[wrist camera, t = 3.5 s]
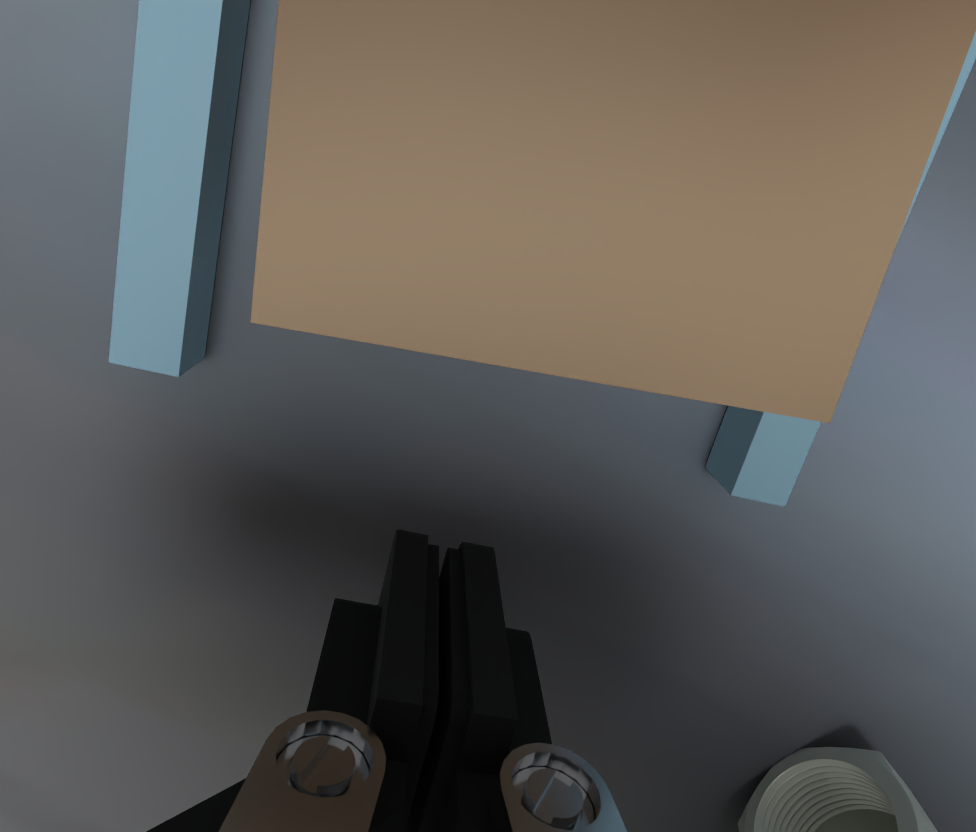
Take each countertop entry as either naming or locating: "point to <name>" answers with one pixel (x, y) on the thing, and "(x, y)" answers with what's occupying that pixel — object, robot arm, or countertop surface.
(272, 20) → the countertop surface
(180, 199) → the press
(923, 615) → the countertop surface
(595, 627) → the countertop surface
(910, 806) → the pipe fitting
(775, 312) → the housing
